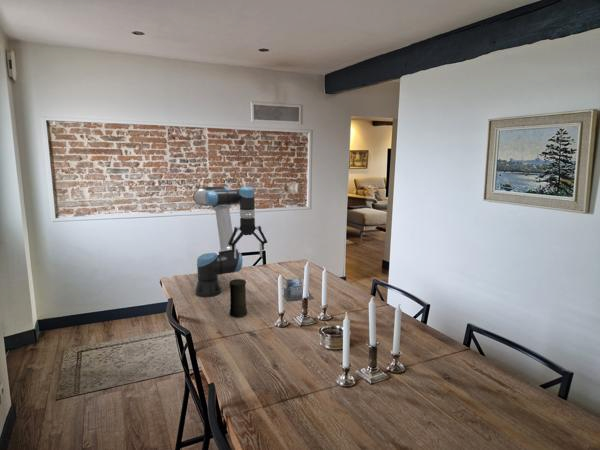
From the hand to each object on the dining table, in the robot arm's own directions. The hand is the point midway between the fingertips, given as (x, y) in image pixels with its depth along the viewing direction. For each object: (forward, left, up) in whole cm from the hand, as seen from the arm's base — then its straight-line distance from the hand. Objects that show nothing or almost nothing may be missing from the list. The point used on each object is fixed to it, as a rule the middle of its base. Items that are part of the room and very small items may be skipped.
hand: (248, 257), depth 207 cm
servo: (-14, +30, -28) cm, 43 cm away
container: (+6, -7, -29) cm, 30 cm away
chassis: (-14, +30, -29) cm, 44 cm away
